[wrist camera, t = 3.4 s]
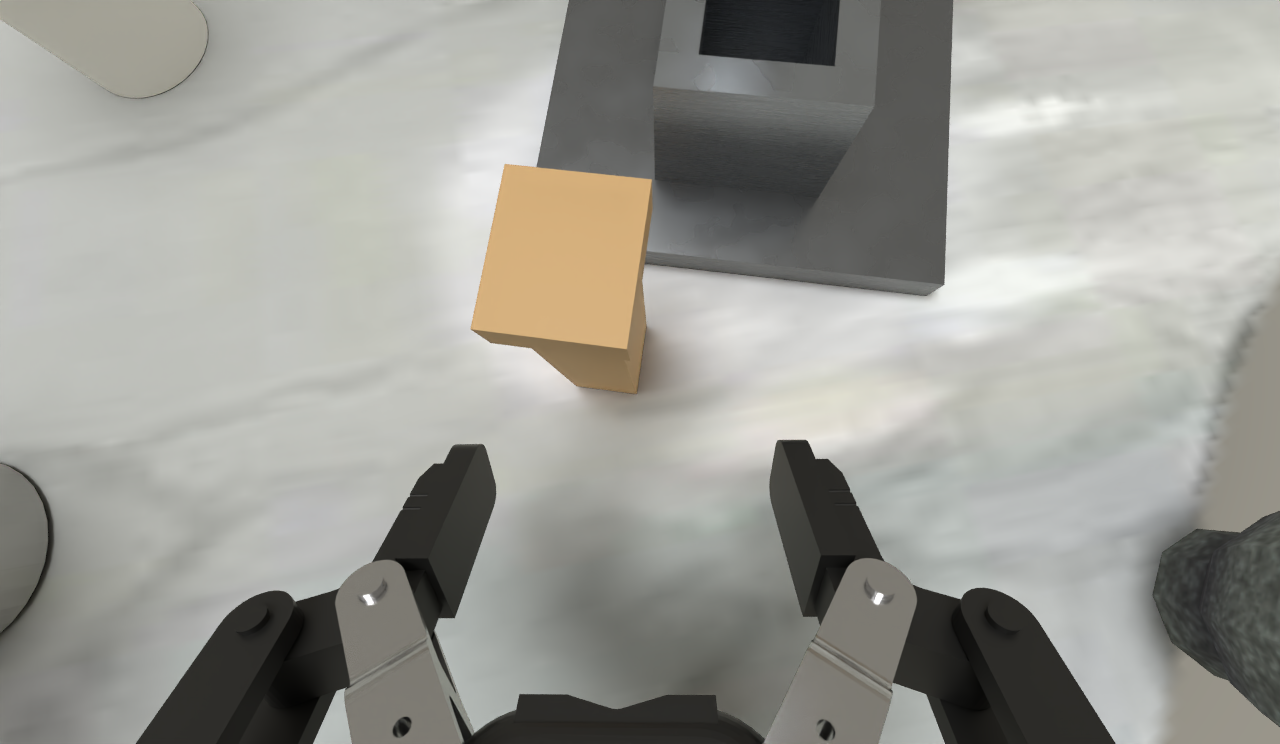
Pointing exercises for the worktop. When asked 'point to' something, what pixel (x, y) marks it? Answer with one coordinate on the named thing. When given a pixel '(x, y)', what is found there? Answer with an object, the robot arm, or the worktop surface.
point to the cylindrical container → (117, 39)
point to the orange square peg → (569, 272)
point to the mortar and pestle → (1228, 606)
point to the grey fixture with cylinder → (768, 131)
